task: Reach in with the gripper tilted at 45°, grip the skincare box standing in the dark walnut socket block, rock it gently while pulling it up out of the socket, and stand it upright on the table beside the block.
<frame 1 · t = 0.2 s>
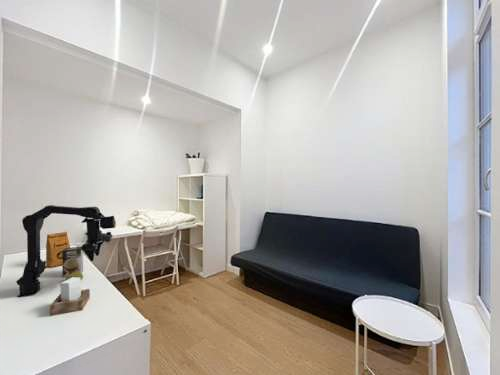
hand: (94, 258, 120), 14 cm above the table, tool pointing down, fingers open, 9 cm apart
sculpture: (74, 282, 124), on the table
coffee package: (58, 265, 150), on the table
walnut socket block: (71, 306, 99), on the table
skincare box: (71, 306, 99), resting in walnut socket block
coffee box: (73, 274, 134), on the table
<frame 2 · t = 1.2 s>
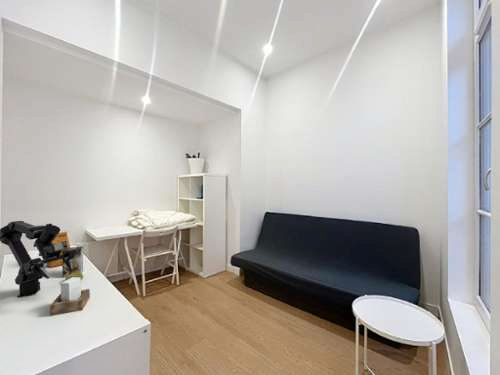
hand: (60, 274, 101), 13 cm above the table, tool tilted 45°, fingers open, 9 cm apart
nothing on the table moved.
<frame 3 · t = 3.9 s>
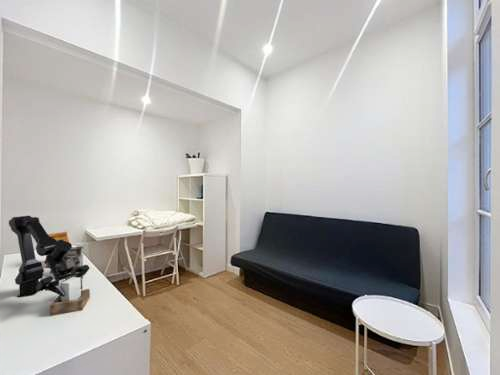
hand: (73, 292, 98), 7 cm above the table, tool tilted 45°, fingers closed on skincare box, 7 cm apart
skincare box: (71, 306, 99), resting in walnut socket block, touching gripper
everything else where it was.
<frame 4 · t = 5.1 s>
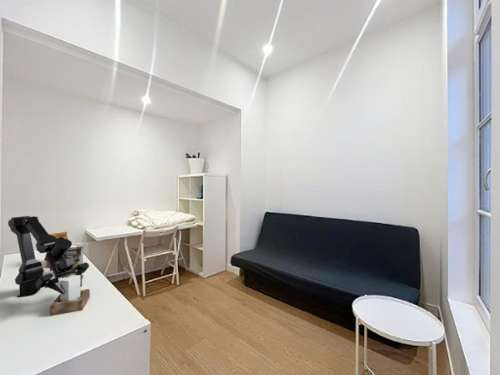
hand: (72, 290, 98), 8 cm above the table, tool tilted 45°, fingers closed on skincare box, 7 cm apart
skincare box: (70, 304, 98), point 1 cm above the table, touching gripper
everything else where it was.
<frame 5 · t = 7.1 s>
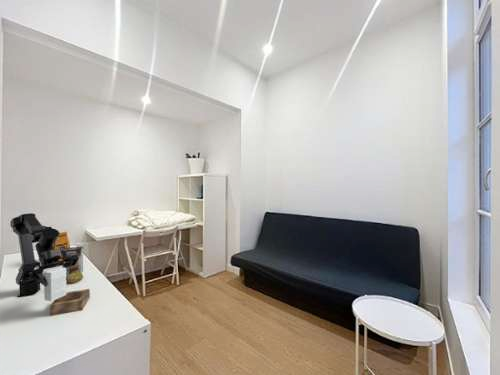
hand: (56, 282, 93), 13 cm above the table, tool tilted 45°, fingers closed on skincare box, 7 cm apart
skincare box: (55, 298, 94), point 6 cm above the table, touching gripper
everything else where it was.
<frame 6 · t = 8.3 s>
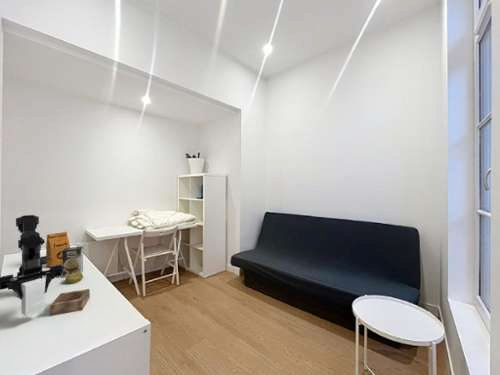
hand: (33, 295, 87), 11 cm above the table, tool tilted 45°, fingers closed on skincare box, 7 cm apart
skincare box: (33, 311, 88), point 4 cm above the table, touching gripper
everything else where it was.
when the fingers open (8 cm above the table, at t = 9.4 s): skincare box stays where it is, on the table.
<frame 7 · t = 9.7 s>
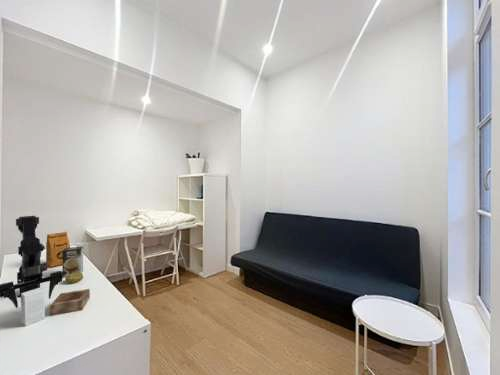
hand: (34, 302, 87), 8 cm above the table, tool tilted 45°, fingers open, 9 cm apart
skincare box: (33, 321, 88), on the table
everything else where it was.
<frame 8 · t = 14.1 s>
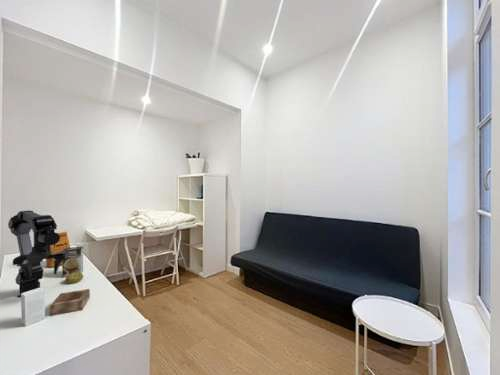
hand: (42, 275, 103), 12 cm above the table, tool pointing down, fingers open, 9 cm apart
nothing on the table moved.
at the end: skincare box inside the target area (0.3 cm from its centre), on the table; skincare box tilted 0°; the gripper is holding nothing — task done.
